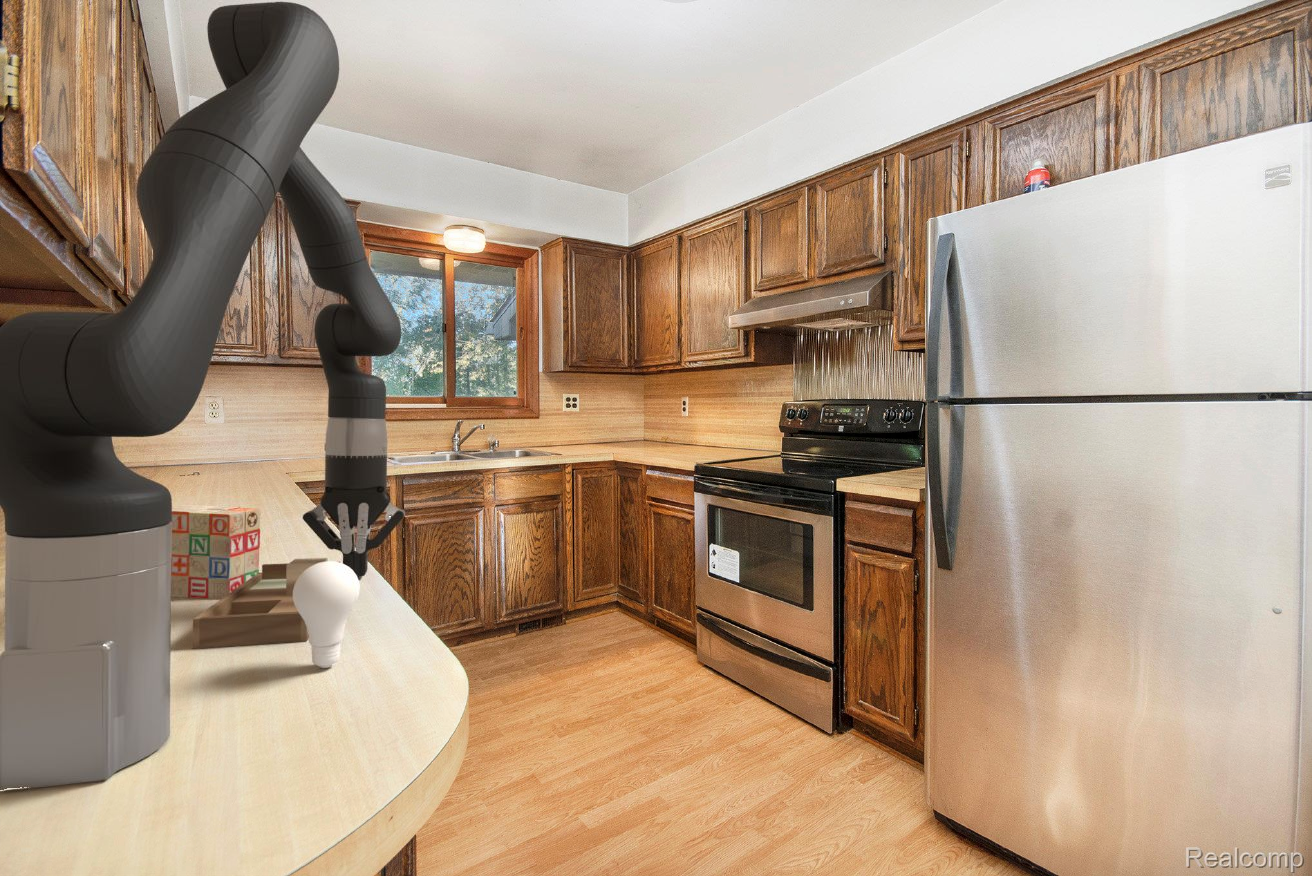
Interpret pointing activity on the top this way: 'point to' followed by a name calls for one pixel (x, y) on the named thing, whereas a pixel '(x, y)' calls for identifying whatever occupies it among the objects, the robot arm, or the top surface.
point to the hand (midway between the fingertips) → (354, 579)
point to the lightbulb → (326, 607)
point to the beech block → (298, 571)
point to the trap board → (252, 614)
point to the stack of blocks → (213, 549)
